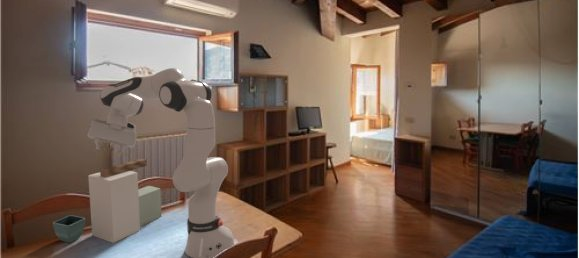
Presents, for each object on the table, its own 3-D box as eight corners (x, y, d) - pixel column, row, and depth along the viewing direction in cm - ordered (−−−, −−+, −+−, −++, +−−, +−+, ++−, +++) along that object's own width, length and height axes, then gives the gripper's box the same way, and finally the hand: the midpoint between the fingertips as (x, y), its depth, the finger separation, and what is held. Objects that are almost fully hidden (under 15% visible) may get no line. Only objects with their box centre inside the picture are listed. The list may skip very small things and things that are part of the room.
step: (149, 213, 185) (148, 185, 182) (161, 216, 182) (160, 188, 179) (125, 224, 172) (124, 194, 169) (137, 227, 168) (135, 197, 166)
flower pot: (87, 236, 158) (85, 217, 157) (70, 245, 150) (68, 225, 149) (71, 233, 161) (69, 214, 159) (53, 242, 152) (51, 222, 151)
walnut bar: (141, 164, 174) (141, 158, 173) (146, 165, 172) (146, 159, 172) (100, 176, 154) (100, 169, 154) (105, 177, 153) (105, 170, 152)
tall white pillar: (119, 223, 172) (116, 167, 167) (139, 230, 166) (137, 172, 161) (92, 235, 160) (88, 175, 155) (113, 242, 154) (110, 180, 149)
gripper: (92, 115, 160) (83, 143, 154) (140, 127, 169) (133, 154, 163) (91, 120, 165) (82, 147, 158) (137, 132, 174) (130, 158, 168)
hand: (108, 151), depth 161 cm, fingers open, 8 cm apart
